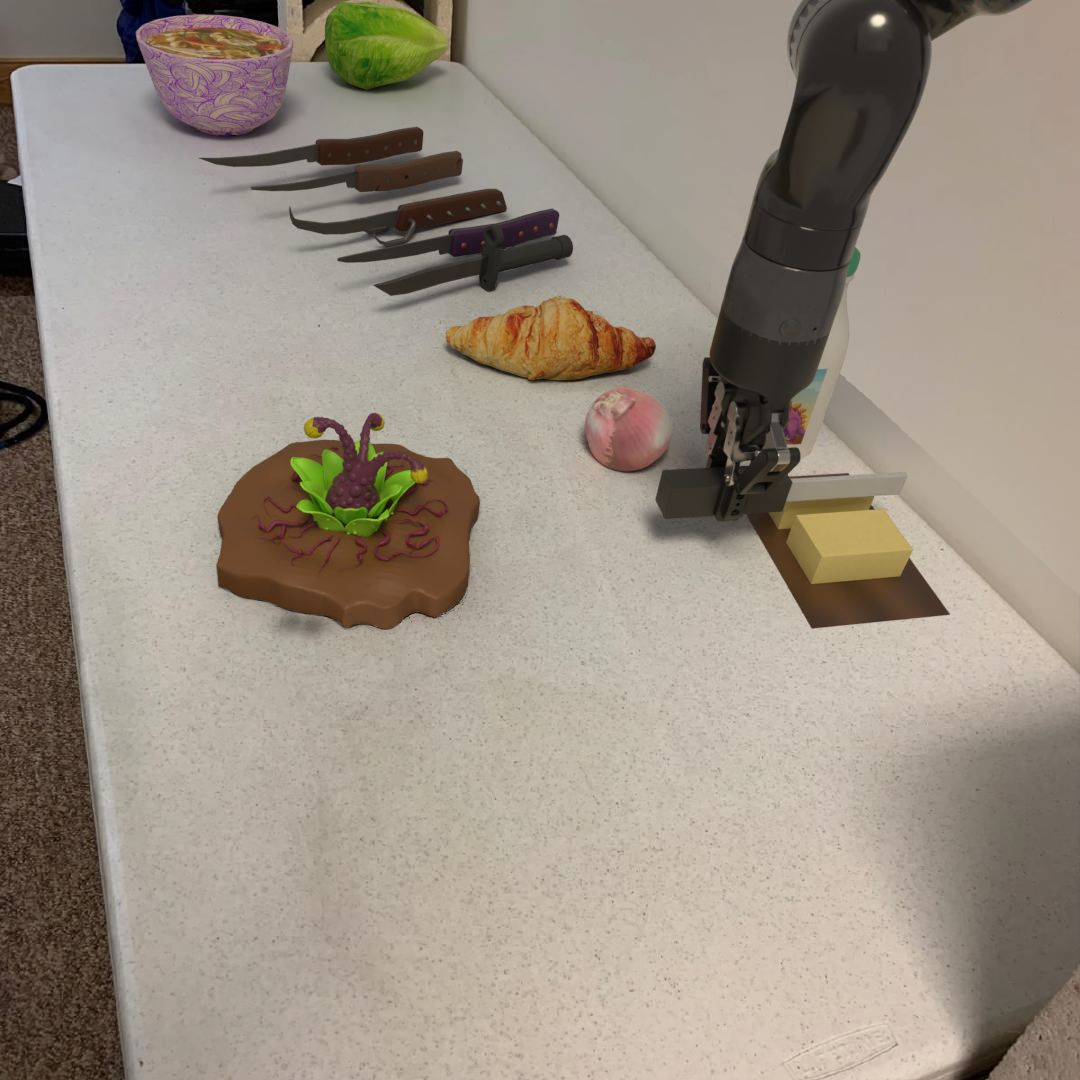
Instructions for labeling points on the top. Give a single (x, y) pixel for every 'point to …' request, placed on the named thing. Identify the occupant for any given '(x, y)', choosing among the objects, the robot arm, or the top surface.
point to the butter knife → (700, 488)
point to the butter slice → (818, 508)
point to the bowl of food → (217, 70)
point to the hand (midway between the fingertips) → (719, 504)
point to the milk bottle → (821, 379)
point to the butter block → (848, 546)
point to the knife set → (419, 210)
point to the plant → (349, 529)
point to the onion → (627, 429)
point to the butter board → (847, 586)
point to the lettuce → (380, 43)
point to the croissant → (550, 342)
